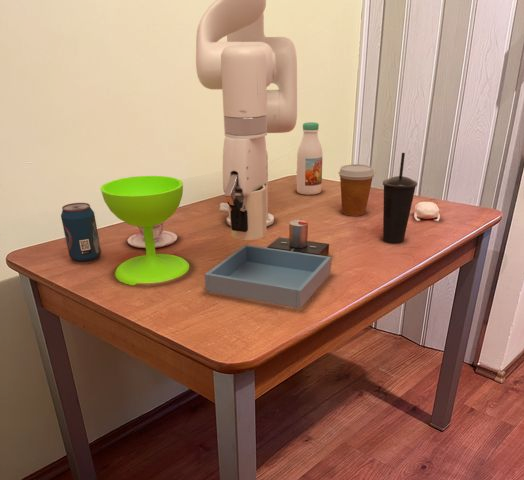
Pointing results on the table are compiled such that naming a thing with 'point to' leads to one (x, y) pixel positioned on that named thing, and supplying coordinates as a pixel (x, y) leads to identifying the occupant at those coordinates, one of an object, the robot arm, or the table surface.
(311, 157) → the milk bottle
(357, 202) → the disposable coffee cup
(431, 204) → the frog figurine
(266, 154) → the robot arm
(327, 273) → the tray
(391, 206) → the drinking cup
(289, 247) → the black dial panel
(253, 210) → the cup
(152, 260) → the wineglass
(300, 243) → the control knob
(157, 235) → the teacup
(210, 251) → the table surface
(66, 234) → the soda can
